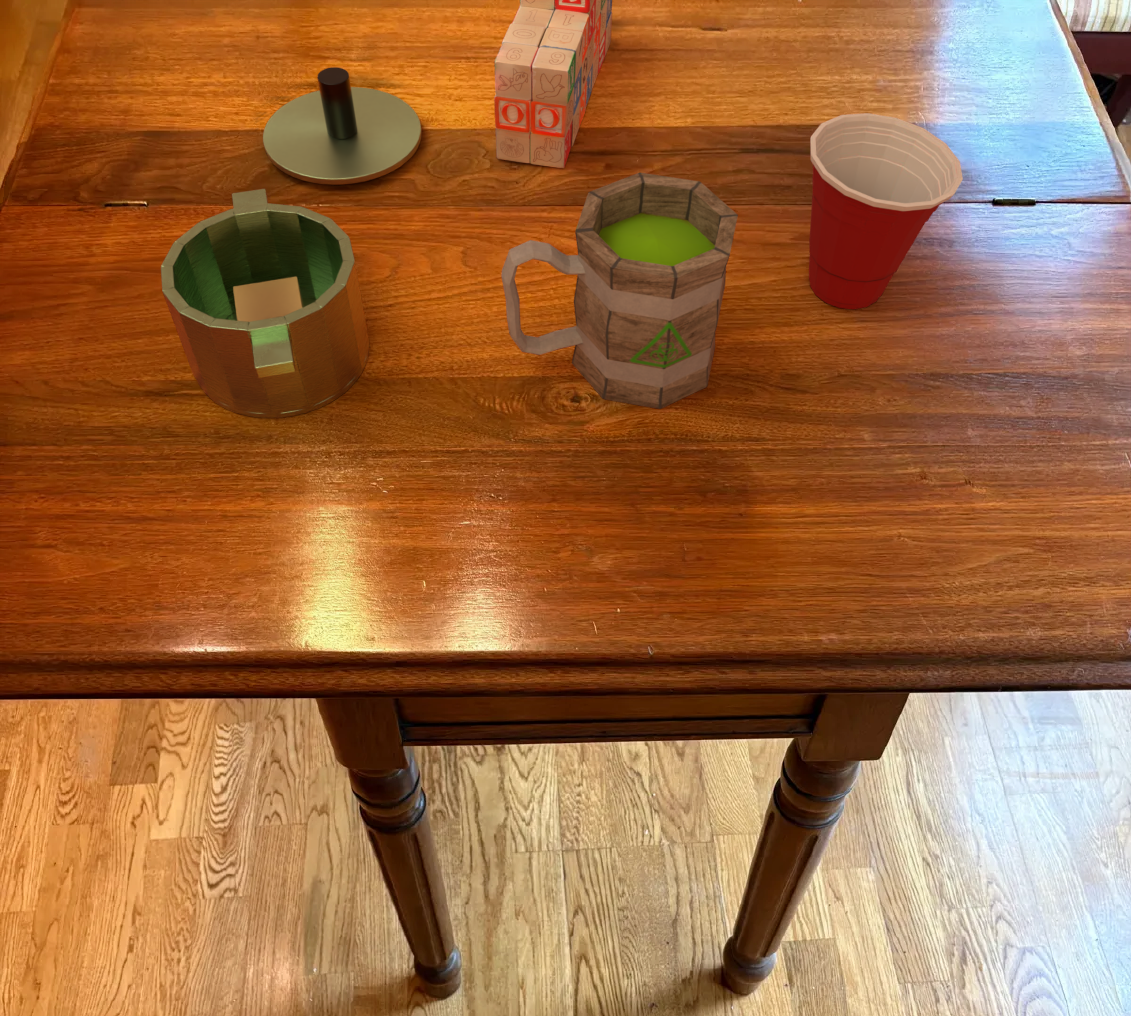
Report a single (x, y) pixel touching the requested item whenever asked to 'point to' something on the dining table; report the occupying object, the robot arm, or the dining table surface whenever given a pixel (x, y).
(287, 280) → the block
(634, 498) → the dining table surface
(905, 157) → the plastic cup
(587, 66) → the stack of blocks
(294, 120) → the lid
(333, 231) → the pot
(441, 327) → the dining table surface
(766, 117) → the dining table surface
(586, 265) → the mug
